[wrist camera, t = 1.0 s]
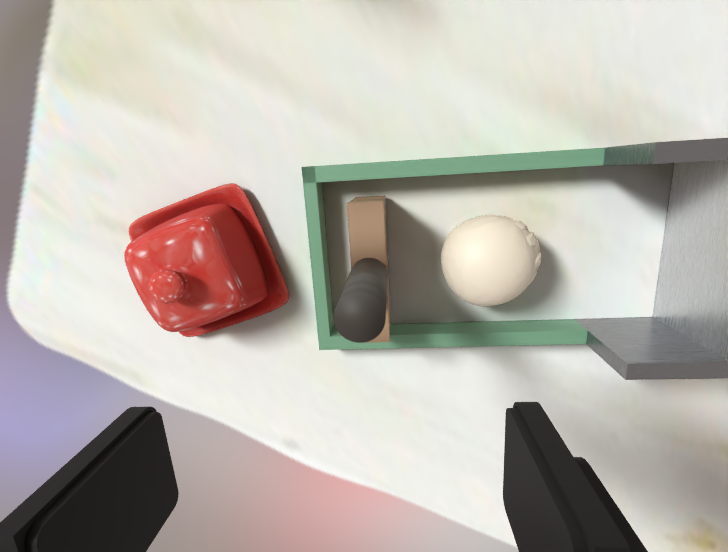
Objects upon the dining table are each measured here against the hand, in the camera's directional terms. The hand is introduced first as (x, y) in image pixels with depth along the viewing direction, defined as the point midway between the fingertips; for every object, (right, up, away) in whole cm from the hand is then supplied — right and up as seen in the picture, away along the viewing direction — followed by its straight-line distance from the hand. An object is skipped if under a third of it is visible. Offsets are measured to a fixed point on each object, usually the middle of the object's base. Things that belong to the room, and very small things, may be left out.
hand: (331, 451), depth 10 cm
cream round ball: (+11, +7, +23) cm, 26 cm away
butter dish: (-13, +6, +25) cm, 28 cm away
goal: (+23, +7, +21) cm, 32 cm away
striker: (+2, +6, +23) cm, 24 cm away
